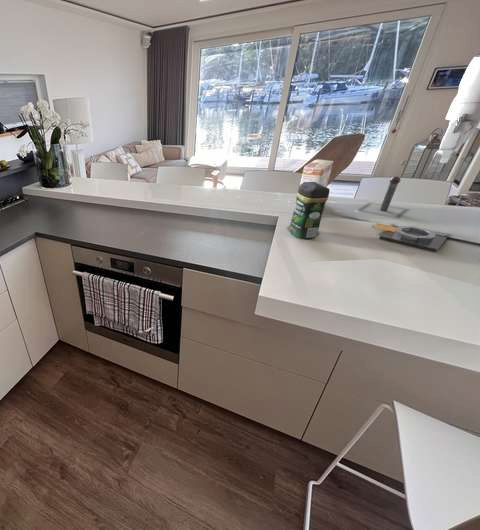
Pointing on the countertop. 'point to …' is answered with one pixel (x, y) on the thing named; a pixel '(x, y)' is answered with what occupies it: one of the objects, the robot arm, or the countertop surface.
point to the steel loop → (399, 232)
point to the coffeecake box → (317, 172)
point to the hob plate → (430, 246)
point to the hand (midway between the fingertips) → (447, 159)
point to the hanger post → (389, 193)
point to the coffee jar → (308, 210)
